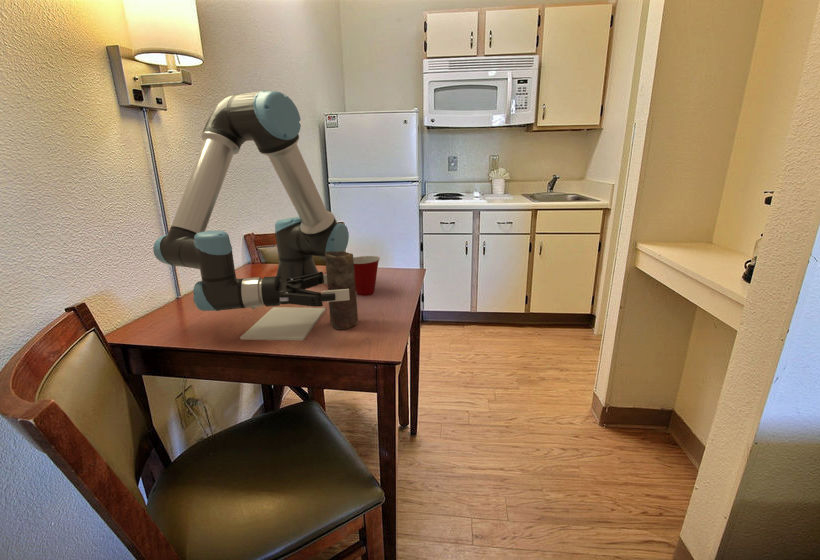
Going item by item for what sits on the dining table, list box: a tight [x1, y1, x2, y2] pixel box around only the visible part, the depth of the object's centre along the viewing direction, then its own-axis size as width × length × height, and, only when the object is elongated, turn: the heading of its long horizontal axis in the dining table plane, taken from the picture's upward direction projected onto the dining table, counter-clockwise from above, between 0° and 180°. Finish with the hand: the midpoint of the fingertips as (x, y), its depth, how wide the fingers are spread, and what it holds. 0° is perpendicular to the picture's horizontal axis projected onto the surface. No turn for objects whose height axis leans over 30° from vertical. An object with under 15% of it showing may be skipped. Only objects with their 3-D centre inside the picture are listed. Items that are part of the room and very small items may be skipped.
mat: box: [239, 306, 327, 342], centre depth 105 cm, size 20×16×1 cm
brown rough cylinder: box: [324, 251, 359, 330], centre depth 101 cm, size 8×7×20 cm
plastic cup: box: [353, 255, 381, 297], centre depth 126 cm, size 11×11×12 cm
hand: (348, 285), depth 101 cm, fingers open, 13 cm apart
